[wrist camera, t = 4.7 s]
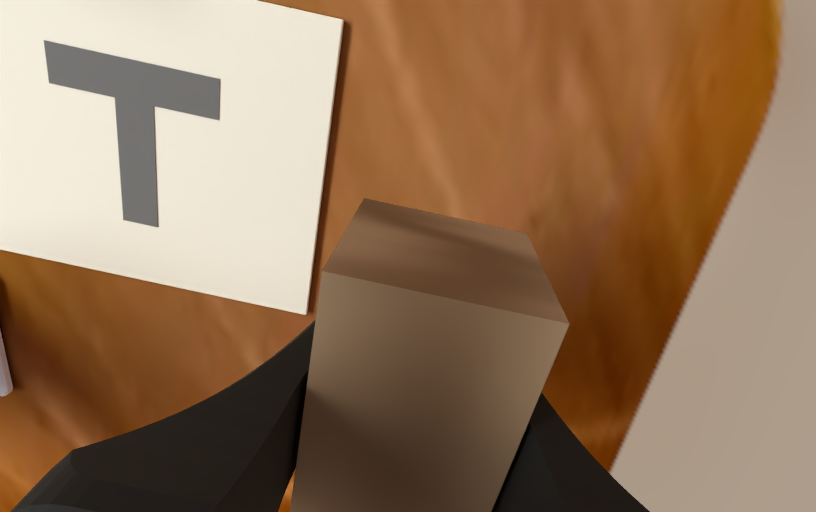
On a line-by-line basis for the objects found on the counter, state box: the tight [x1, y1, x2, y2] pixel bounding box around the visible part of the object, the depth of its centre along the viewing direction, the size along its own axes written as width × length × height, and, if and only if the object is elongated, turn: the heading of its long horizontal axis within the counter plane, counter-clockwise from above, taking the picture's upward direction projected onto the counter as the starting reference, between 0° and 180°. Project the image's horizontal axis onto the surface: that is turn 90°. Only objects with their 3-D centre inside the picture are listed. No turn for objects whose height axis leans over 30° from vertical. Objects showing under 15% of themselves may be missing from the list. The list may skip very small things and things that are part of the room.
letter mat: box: [0, 0, 344, 315], centre depth 19 cm, size 16×13×1 cm
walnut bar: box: [290, 198, 569, 512], centre depth 12 cm, size 4×8×4 cm, turn 169°
